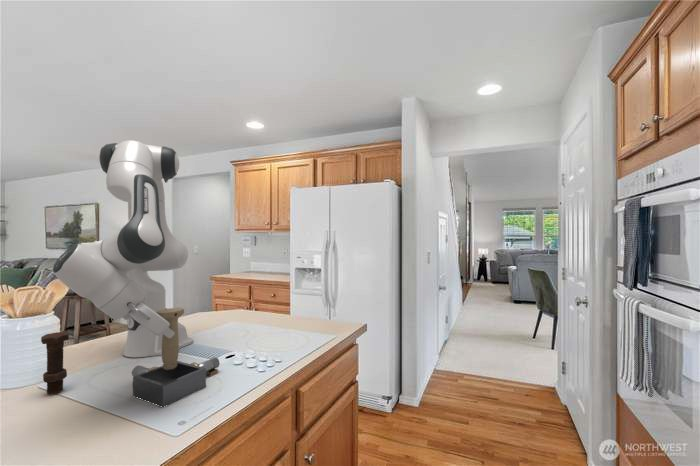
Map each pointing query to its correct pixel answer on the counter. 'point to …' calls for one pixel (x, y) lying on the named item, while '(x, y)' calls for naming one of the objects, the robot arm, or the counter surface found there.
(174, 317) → the handle
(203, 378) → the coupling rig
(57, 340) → the bolt
